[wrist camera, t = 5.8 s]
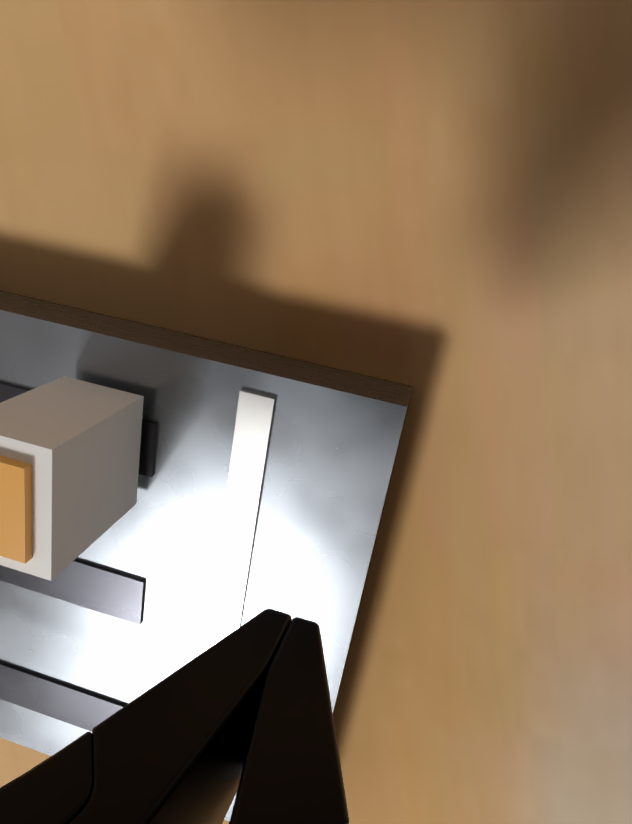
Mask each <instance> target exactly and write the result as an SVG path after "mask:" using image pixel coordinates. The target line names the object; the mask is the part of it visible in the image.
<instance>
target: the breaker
mask: <svg viewBox="0 0 632 824" xmlns="http://www.w3.org/2000/svg"><path fill="white" fill-rule="evenodd" d="M143 400H144V396H141V395H137V394H133V393H129V392H125V391H121V390H117V389H113V388H109V387H105V386H101V385H97V384H93V383H90V382H86V381H82V380H78V379H74V378H70V377H66V376H63V377H61V378H58V379H56V380H54V381H51V382H49V383H46V384H44V385H42V386H39V387H37V388H34V389H32V390H30V391H27V392H25V393H22V394H20V395H18V396H15V397H13V398H10V399H8V400H6V401H3V402H1V403H0V565H2V566H5V567H8V568H12V569H15V570H18V571H21V572H24V573H27V574H31V575H34V576H37V577H40V578H43V579H46V580H50V581H52V580H53V579H54V578H55V577H56V576H57V575H58V574H59V573H60V572H62V571H63V570H64V569H65V568H66V567H67V566H68V565H69V564H70V563H72V562H73V561H74V560H75V559H76V558H77V557H78V556H79V555H80V554H81V553H83V552H84V551H85V550H86V549H87V548H88V547H89V546H90V545H91V544H93V543H94V542H95V541H96V540H97V539H98V538H99V537H100V536H101V535H102V534H104V533H105V532H106V531H107V530H108V529H109V528H110V527H111V526H112V525H114V524H115V523H116V522H117V521H118V520H119V519H120V518H121V517H122V516H123V515H125V514H126V513H127V512H128V511H129V510H130V509H131V508H132V507H133V506H135V505H136V502H137V488H138V473H139V458H140V444H141V429H142V414H143Z"/></svg>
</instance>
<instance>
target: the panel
mask: <svg viewBox="0 0 632 824" xmlns="http://www.w3.org/2000/svg"><path fill="white" fill-rule="evenodd" d="M63 376H66V377H70V378H74V379H78V380H82V381H86V382H90V383H93V384H97V385H101V386H105V387H109V388H113V389H117V390H121V391H125V392H129V393H133V394H137V395H141V396H144V400H143V414H142V429H141V444H140V458H139V473H138V488H137V502H136V505H135V506H133V507H132V508H131V509H130V510H129V511H128V512H127V513H126V514H125V515H123V516H122V517H121V518H120V519H119V520H118V521H117V522H116V523H115V524H114V525H112V526H111V527H110V528H109V529H108V530H107V531H106V532H105V533H104V534H102V535H101V536H100V537H99V538H98V539H97V540H96V541H95V542H94V543H93V544H91V545H90V546H89V547H88V548H87V549H86V550H85V551H84V552H83V553H81V554H80V555H79V556H78V557H77V558H76V559H75V560H74V561H73V562H72V563H70V564H69V565H68V566H67V567H66V568H65V569H64V570H63V571H62V572H60V573H59V574H58V575H57V576H56V577H55V578H54V579H53V580H52V581H50V580H46V579H43V578H40V577H37V576H34V575H31V574H27V573H24V572H21V571H18V570H15V569H12V568H8V567H5V566H2V565H0V737H1V738H4V739H6V740H9V741H12V742H15V743H17V744H20V745H23V746H25V747H28V748H31V749H34V750H36V751H39V752H42V753H44V754H47V755H50V756H52V755H54V754H55V753H57V752H58V751H60V750H61V749H63V748H64V747H66V746H67V745H69V744H70V743H72V742H73V741H75V740H76V739H78V738H79V737H80V736H82V735H83V734H85V733H86V732H91V733H92V729H93V728H94V727H95V726H97V725H98V724H100V723H101V722H103V721H104V720H105V719H107V718H108V717H110V716H111V715H113V714H114V713H116V712H117V711H119V710H120V709H121V708H123V707H124V706H126V705H127V704H129V703H130V702H132V701H133V700H134V699H136V698H137V697H139V696H140V695H142V694H143V693H145V692H146V691H148V690H149V689H150V688H152V687H153V686H155V685H156V684H158V683H159V682H161V681H162V680H163V679H165V678H166V677H168V676H169V675H171V674H172V673H174V672H175V671H176V670H178V669H179V668H181V667H182V666H184V665H185V664H187V663H188V662H190V661H191V660H192V659H194V658H195V657H197V656H198V655H200V654H201V653H203V652H204V651H205V650H207V649H208V648H210V647H211V646H213V645H214V644H216V643H217V642H219V641H220V640H221V639H223V638H224V637H226V636H227V635H229V634H230V633H232V632H233V631H234V630H236V629H237V628H239V627H240V626H242V625H243V624H245V623H246V622H248V621H249V620H250V619H252V618H253V617H255V616H256V615H258V614H259V613H261V612H262V611H263V610H265V609H268V608H269V609H274V610H277V611H280V612H284V613H287V614H289V615H290V616H291V618H292V619H293V618H294V617H300V618H303V619H306V620H309V621H313V622H316V623H317V624H318V625H319V628H320V634H321V640H322V647H323V653H324V660H325V666H326V673H327V679H328V686H329V693H330V699H331V706H332V712H334V707H335V703H336V699H337V695H338V691H339V687H340V683H341V679H342V675H343V671H344V666H345V662H346V658H347V654H348V650H349V646H350V642H351V638H352V634H353V630H354V625H355V621H356V617H357V613H358V609H359V605H360V601H361V597H362V593H363V588H364V584H365V580H366V576H367V572H368V568H369V564H370V560H371V556H372V552H373V547H374V543H375V539H376V535H377V531H378V527H379V523H380V519H381V515H382V510H383V506H384V502H385V498H386V494H387V490H388V486H389V482H390V478H391V474H392V469H393V465H394V461H395V457H396V453H397V449H398V445H399V441H400V437H401V433H402V428H403V424H404V420H405V416H406V412H407V408H408V404H409V400H410V396H411V391H412V387H411V386H406V385H402V384H398V383H393V382H389V381H385V380H381V379H376V378H372V377H368V376H363V375H359V374H355V373H350V372H346V371H342V370H338V369H333V368H329V367H325V366H320V365H316V364H312V363H308V362H303V361H299V360H295V359H290V358H286V357H282V356H277V355H273V354H269V353H265V352H260V351H256V350H252V349H247V348H243V347H239V346H235V345H230V344H226V343H222V342H217V341H213V340H209V339H204V338H200V337H196V336H192V335H187V334H183V333H179V332H174V331H170V330H166V329H162V328H157V327H153V326H149V325H144V324H140V323H136V322H131V321H127V320H123V319H119V318H114V317H110V316H106V315H101V314H97V313H93V312H89V311H84V310H80V309H76V308H71V307H67V306H63V305H58V304H54V303H50V302H46V301H41V300H37V299H33V298H28V297H24V296H20V295H16V294H11V293H7V292H3V291H0V403H1V402H3V401H6V400H8V399H10V398H13V397H15V396H18V395H20V394H22V393H25V392H27V391H30V390H32V389H34V388H37V387H39V386H42V385H44V384H46V383H49V382H51V381H54V380H56V379H58V378H61V377H63ZM236 794H237V793H236ZM235 798H236V795H235V797H234V799H233V801H232V803H231V806H230V808H229V810H228V812H227V814H226V816H225V818H224V820H227V821H229V822H230V818H231V814H232V810H233V806H234V802H235Z"/></svg>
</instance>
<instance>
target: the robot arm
mask: <svg viewBox="0 0 632 824" xmlns="http://www.w3.org/2000/svg"><path fill="white" fill-rule="evenodd" d="M236 793H237V794H236ZM235 795H236V798H235V802H234V806H233V810H232V814H231V818H230V822H229V824H349V817H348V810H347V804H346V797H345V791H344V784H343V778H342V771H341V765H340V758H339V751H338V745H337V738H336V732H335V725H334V719H333V712H332V706H331V699H330V693H329V686H328V679H327V673H326V666H325V660H324V653H323V647H322V640H321V634H320V628H319V625H318V624H317V623H316V622H313V621H309V620H306V619H303V618H300V617H294V618H293V619H292V618H291V616H290V615H289V614H287V613H284V612H280V611H277V610H274V609H269V608H268V609H265V610H263V611H262V612H261V613H259V614H258V615H256V616H255V617H253V618H252V619H250V620H249V621H248V622H246V623H245V624H243V625H242V626H240V627H239V628H237V629H236V630H234V631H233V632H232V633H230V634H229V635H227V636H226V637H224V638H223V639H221V640H220V641H219V642H217V643H216V644H214V645H213V646H211V647H210V648H208V649H207V650H205V651H204V652H203V653H201V654H200V655H198V656H197V657H195V658H194V659H192V660H191V661H190V662H188V663H187V664H185V665H184V666H182V667H181V668H179V669H178V670H176V671H175V672H174V673H172V674H171V675H169V676H168V677H166V678H165V679H163V680H162V681H161V682H159V683H158V684H156V685H155V686H153V687H152V688H150V689H149V690H148V691H146V692H145V693H143V694H142V695H140V696H139V697H137V698H136V699H134V700H133V701H132V702H130V703H129V704H127V705H126V706H124V707H123V708H121V709H120V710H119V711H117V712H116V713H114V714H113V715H111V716H110V717H108V718H107V719H105V720H104V721H103V722H101V723H100V724H98V725H97V726H95V727H94V728H93V729H92V733H91V732H86V733H85V734H83V735H82V736H80V737H79V738H78V739H76V740H75V741H73V742H72V743H70V744H69V745H67V746H66V747H64V748H63V749H61V750H60V751H58V752H57V753H55V754H54V755H52V756H51V757H49V758H48V759H46V760H45V761H43V762H42V763H40V764H38V765H37V766H35V767H34V768H32V769H31V770H29V771H28V772H26V773H25V774H23V775H21V776H20V777H18V778H16V779H14V780H13V781H11V782H9V783H8V784H6V785H4V786H3V787H1V788H0V824H222V822H223V820H224V818H225V816H226V814H227V812H228V810H229V808H230V806H231V803H232V801H233V799H234V797H235Z"/></svg>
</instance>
